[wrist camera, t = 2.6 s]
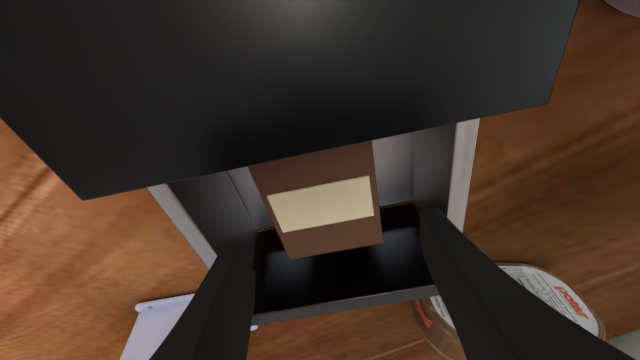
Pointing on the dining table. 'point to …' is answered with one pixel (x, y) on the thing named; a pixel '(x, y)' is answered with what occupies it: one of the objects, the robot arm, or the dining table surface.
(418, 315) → the tin
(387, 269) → the drawer
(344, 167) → the packet
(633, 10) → the pillar candle
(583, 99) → the dining table surface
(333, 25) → the black box
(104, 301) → the dining table surface
